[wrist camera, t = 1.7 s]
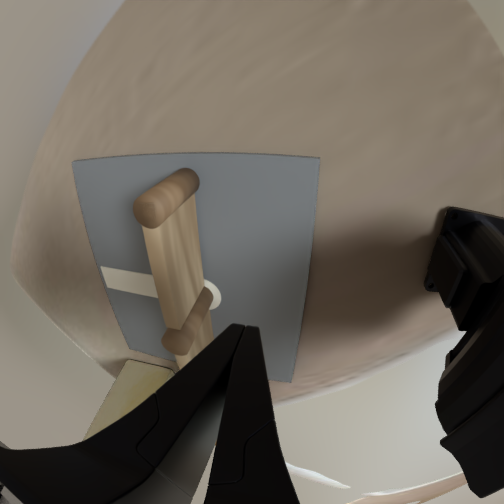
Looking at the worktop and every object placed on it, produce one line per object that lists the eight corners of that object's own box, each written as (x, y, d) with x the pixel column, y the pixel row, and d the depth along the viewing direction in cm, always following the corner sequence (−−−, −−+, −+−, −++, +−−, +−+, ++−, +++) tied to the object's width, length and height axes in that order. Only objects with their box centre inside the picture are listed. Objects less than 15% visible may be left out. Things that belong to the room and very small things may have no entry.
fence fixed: (212, 285, 22) (186, 339, 17) (223, 370, 28) (207, 415, 23) (188, 282, 22) (158, 332, 18) (204, 366, 28) (187, 410, 23)
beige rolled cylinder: (198, 167, 17) (161, 195, 13) (209, 285, 21) (186, 331, 17) (172, 167, 17) (130, 195, 13) (187, 282, 22) (161, 325, 18)
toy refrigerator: (194, 402, 34) (142, 535, 17) (148, 391, 36) (92, 509, 18) (178, 369, 30) (107, 527, 13) (128, 357, 32) (53, 492, 14)
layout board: (319, 157, 16) (319, 159, 15) (291, 379, 27) (291, 383, 27) (74, 160, 19) (70, 162, 19) (131, 346, 30) (129, 349, 30)
